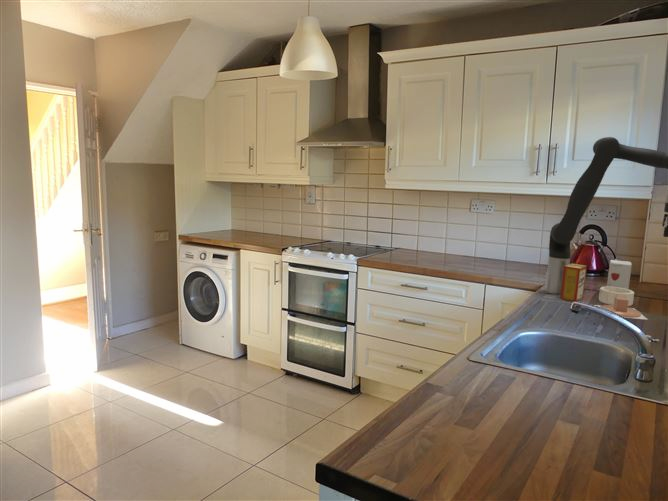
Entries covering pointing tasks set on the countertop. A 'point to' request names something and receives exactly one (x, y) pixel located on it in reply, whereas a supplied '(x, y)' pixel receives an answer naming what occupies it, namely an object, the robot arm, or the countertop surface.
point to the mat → (630, 317)
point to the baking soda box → (573, 282)
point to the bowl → (615, 294)
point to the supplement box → (619, 274)
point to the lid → (622, 308)
